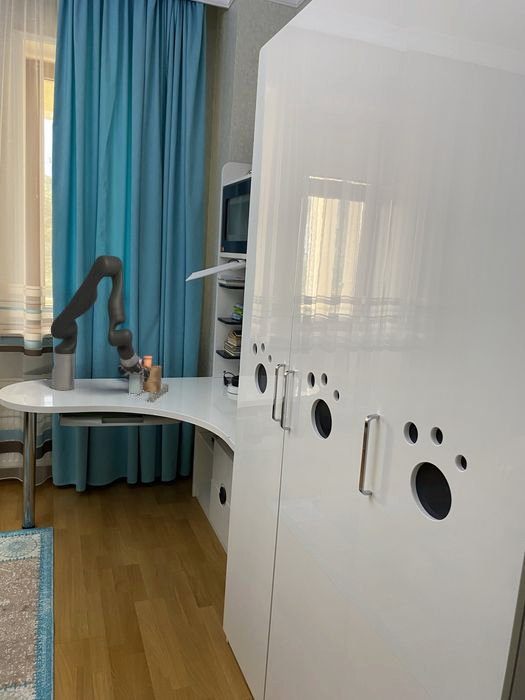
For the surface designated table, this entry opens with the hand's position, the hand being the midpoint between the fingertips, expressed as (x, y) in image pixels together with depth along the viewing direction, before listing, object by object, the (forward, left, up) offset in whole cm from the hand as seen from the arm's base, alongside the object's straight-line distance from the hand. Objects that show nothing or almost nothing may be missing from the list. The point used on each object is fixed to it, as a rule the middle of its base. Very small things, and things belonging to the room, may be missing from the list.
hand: (137, 379), depth 282 cm
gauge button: (+2, +8, +2) cm, 8 cm away
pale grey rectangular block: (0, -1, -7) cm, 7 cm away
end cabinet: (+2, +8, -7) cm, 11 cm away
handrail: (+12, -2, -7) cm, 13 cm away
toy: (-8, +17, -7) cm, 20 cm away
